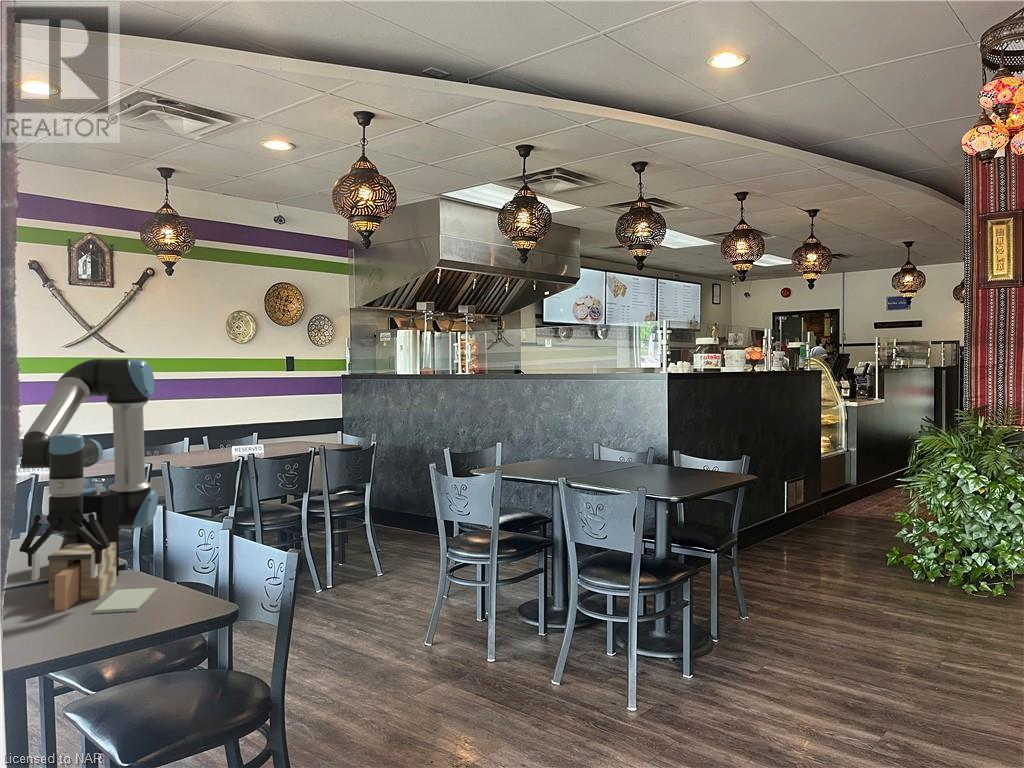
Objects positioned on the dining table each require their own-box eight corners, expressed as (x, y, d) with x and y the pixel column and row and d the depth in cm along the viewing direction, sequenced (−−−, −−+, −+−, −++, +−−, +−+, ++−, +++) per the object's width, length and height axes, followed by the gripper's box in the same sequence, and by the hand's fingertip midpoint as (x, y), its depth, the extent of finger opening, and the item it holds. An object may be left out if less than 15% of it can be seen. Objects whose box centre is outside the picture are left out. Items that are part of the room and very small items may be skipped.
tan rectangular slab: (78, 593, 199) (79, 560, 199) (88, 592, 199) (88, 559, 199) (54, 611, 183) (55, 575, 183) (65, 610, 183) (65, 575, 183)
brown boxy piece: (69, 586, 205) (69, 543, 204) (116, 584, 207) (116, 542, 207) (47, 602, 190) (47, 556, 190) (97, 599, 192) (98, 554, 192)
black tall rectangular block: (119, 575, 216) (119, 481, 216) (101, 583, 208) (102, 485, 208) (94, 574, 217) (94, 480, 217) (75, 582, 209) (76, 484, 209)
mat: (117, 592, 199) (117, 589, 199) (156, 590, 201) (156, 587, 201) (93, 613, 181) (93, 610, 181) (137, 611, 183) (137, 607, 183)
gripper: (4, 498, 180) (3, 584, 180) (114, 495, 185) (113, 579, 185) (18, 493, 188) (17, 576, 187) (123, 491, 193) (123, 572, 193)
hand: (65, 578), depth 186 cm, fingers open, 13 cm apart
